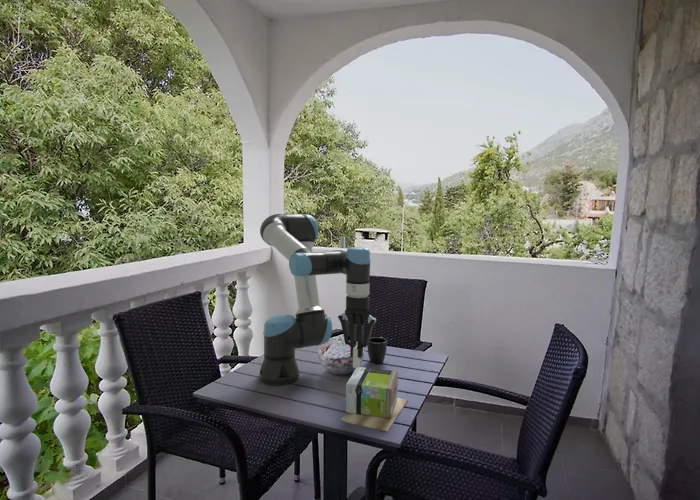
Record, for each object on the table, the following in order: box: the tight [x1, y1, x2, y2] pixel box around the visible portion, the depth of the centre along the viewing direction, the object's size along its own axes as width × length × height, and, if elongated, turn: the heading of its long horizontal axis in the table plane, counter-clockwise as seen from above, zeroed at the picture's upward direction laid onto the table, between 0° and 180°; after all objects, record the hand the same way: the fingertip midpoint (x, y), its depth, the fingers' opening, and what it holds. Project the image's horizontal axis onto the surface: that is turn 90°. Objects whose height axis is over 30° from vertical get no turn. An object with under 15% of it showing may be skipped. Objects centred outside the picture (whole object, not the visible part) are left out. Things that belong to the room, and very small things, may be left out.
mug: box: [366, 336, 388, 365], centre depth 180 cm, size 8×12×10 cm
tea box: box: [345, 366, 399, 418], centre depth 137 cm, size 15×10×15 cm
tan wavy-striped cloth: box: [340, 397, 408, 433], centre depth 135 cm, size 15×22×1 cm
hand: (356, 366), depth 136 cm, fingers closed
